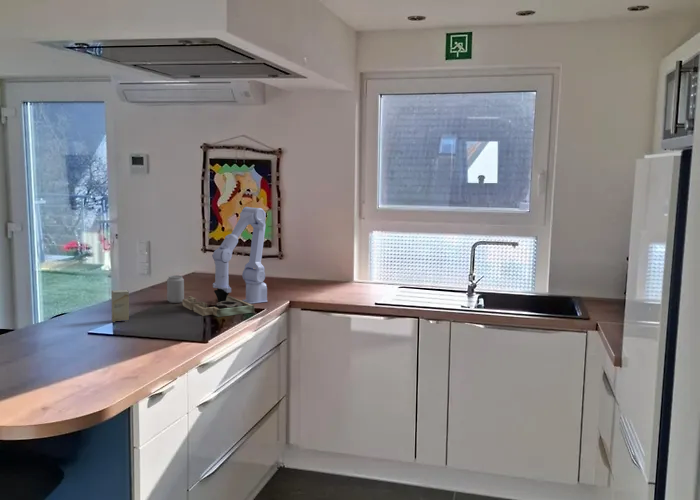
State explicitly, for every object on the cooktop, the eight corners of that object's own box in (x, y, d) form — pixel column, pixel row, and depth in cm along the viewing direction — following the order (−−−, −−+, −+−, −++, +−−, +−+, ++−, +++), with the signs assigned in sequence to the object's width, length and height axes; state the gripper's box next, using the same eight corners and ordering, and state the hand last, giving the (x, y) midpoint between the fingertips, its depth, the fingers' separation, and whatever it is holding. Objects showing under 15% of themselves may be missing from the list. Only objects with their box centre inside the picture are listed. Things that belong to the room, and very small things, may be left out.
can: (179, 304, 285) (179, 277, 283) (164, 302, 286) (163, 276, 285) (186, 300, 292) (186, 275, 290) (171, 299, 293) (171, 274, 292)
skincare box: (112, 322, 248) (112, 292, 247) (111, 320, 252) (110, 290, 251) (129, 321, 251) (129, 291, 250) (127, 318, 255) (127, 289, 254)
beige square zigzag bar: (222, 299, 298) (222, 292, 297) (254, 312, 273) (254, 305, 273) (178, 303, 285) (178, 297, 284) (207, 318, 260) (207, 311, 260)
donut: (209, 313, 270) (209, 303, 270) (224, 307, 281) (224, 298, 281) (233, 315, 266) (233, 306, 266) (247, 310, 277) (247, 301, 277)
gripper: (206, 273, 281) (206, 303, 282) (220, 278, 269) (220, 310, 271) (221, 272, 285) (220, 302, 287) (235, 277, 273) (235, 308, 275)
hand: (221, 305), depth 279 cm, fingers closed
